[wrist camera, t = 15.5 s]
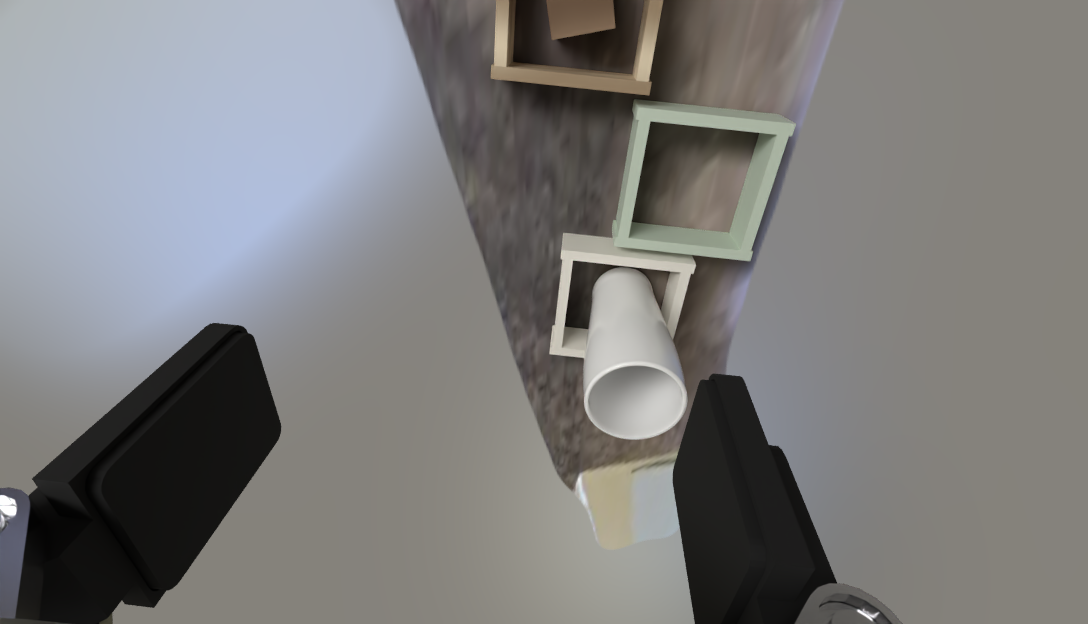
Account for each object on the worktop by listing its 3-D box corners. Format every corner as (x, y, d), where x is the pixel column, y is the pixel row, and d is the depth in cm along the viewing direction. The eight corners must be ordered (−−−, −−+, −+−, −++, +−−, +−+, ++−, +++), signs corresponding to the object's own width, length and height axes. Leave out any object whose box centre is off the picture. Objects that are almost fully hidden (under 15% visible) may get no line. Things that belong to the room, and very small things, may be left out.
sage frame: (633, 98, 37) (638, 107, 34) (779, 114, 37) (795, 123, 34) (612, 229, 42) (613, 246, 39) (738, 243, 42) (750, 261, 39)
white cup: (660, 320, 47) (688, 439, 34) (587, 325, 47) (587, 443, 35) (659, 253, 43) (690, 358, 30) (580, 260, 44) (577, 365, 31)
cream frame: (563, 232, 43) (561, 249, 40) (688, 246, 43) (695, 264, 40) (551, 332, 48) (549, 353, 45) (662, 344, 48) (667, 367, 45)
